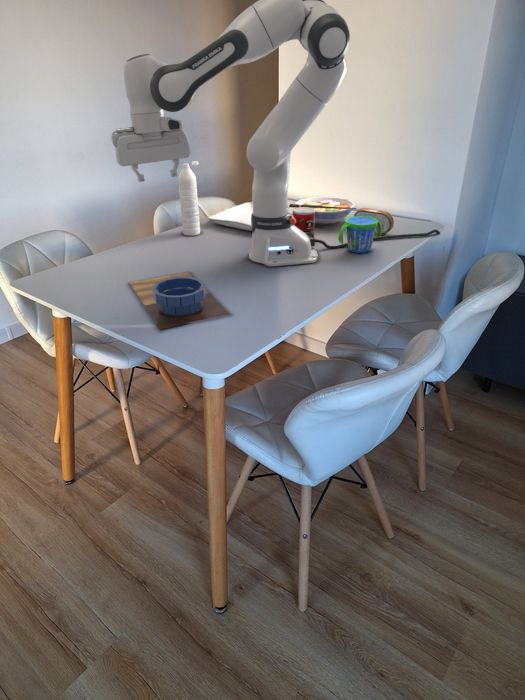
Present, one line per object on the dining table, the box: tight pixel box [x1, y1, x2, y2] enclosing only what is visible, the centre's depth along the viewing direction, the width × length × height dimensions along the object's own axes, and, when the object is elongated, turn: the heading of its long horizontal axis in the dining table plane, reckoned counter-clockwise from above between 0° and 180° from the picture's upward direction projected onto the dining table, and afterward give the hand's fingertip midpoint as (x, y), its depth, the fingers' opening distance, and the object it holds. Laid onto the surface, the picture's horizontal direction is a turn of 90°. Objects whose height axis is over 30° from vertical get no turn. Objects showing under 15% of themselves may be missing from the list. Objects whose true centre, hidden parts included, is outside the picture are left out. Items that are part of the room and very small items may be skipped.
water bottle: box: [177, 160, 201, 237], centre depth 186 cm, size 9×6×25 cm
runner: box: [128, 271, 209, 306], centre depth 146 cm, size 18×18×1 cm
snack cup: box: [338, 215, 382, 254], centre depth 170 cm, size 16×10×10 cm
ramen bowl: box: [288, 196, 357, 226], centre depth 199 cm, size 25×23×8 cm
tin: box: [353, 207, 395, 236], centre depth 187 cm, size 15×3×8 cm, turn 58°
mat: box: [144, 292, 230, 331], centre depth 133 cm, size 15×18×1 cm
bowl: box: [152, 276, 207, 316], centre depth 132 cm, size 13×13×6 cm
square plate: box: [206, 201, 294, 232], centre depth 201 cm, size 27×27×4 cm
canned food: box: [292, 207, 316, 238], centre depth 179 cm, size 8×8×11 cm
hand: (158, 178), depth 143 cm, fingers open, 8 cm apart
